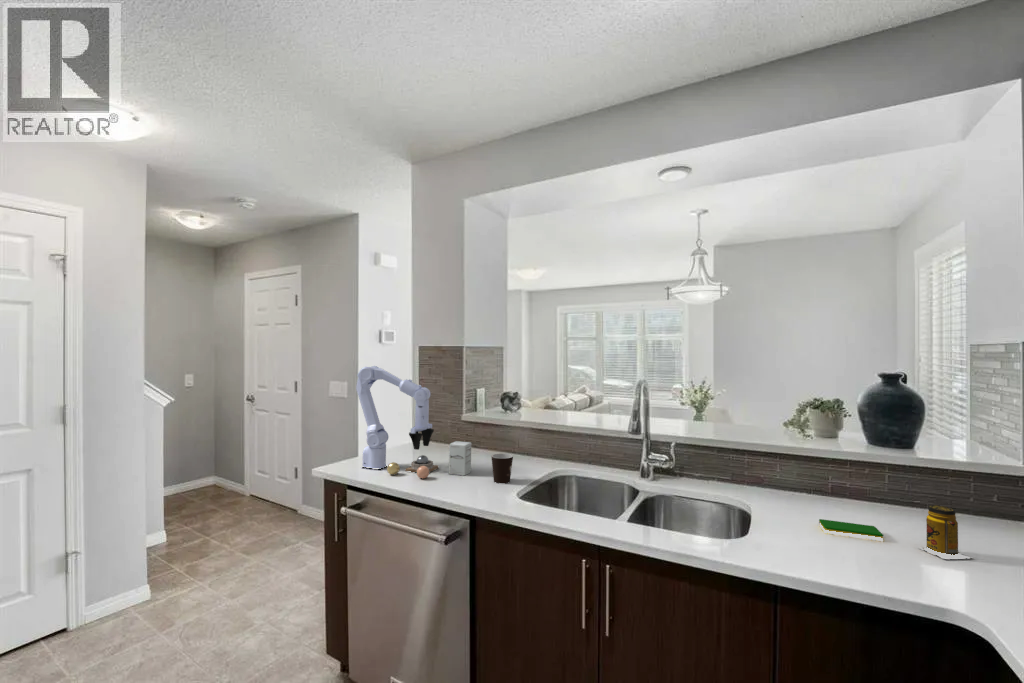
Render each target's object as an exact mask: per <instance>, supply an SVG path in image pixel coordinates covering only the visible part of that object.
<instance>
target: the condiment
mask: <svg viewBox="0 0 1024 683" xmlns="http://www.w3.org/2000/svg"><path fill="white" fill-rule="evenodd" d="M927 507H928V508H927V509H928V511H927V514H928V515H927V516H926V518H925V520H926V548H927V547H928V548H930V549H932V550H934V551H937V552H941V553H946V554H951V555H952V554H953V555H955V554H958V553H959V523H958V521H957V517H956V511H955V510H954V509H953V508H951V507H947V506H943V505H942V506H941V505H934V504H933V505H928V506H927Z"/></svg>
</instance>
